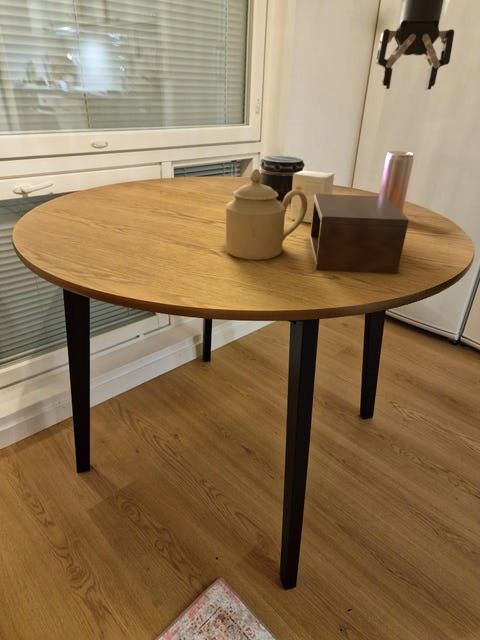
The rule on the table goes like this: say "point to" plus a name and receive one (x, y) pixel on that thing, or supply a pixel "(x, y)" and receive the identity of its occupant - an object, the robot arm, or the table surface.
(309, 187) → the small box
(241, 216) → the sugar bowl
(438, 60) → the robot arm
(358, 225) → the open-ended wooden box
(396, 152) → the beverage can
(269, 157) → the container
